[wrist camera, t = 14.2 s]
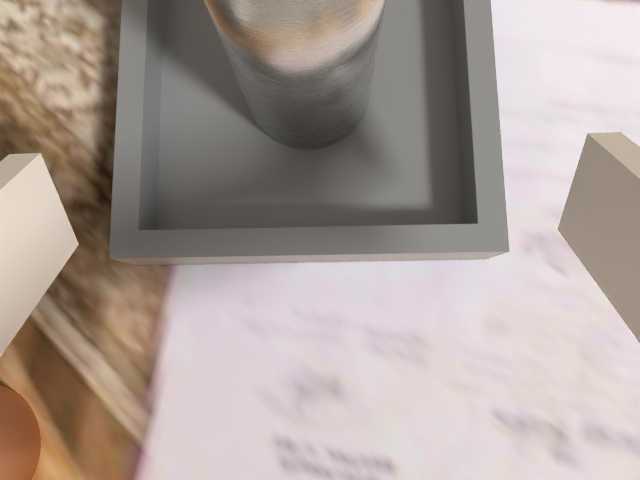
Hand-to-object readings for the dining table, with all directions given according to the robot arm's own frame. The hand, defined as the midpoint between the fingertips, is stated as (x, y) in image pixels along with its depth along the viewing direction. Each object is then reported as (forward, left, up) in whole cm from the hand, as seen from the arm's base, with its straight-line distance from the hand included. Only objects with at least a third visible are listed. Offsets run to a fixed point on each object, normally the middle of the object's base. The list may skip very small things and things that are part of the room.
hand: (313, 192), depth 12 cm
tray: (0, +6, -7) cm, 9 cm away
